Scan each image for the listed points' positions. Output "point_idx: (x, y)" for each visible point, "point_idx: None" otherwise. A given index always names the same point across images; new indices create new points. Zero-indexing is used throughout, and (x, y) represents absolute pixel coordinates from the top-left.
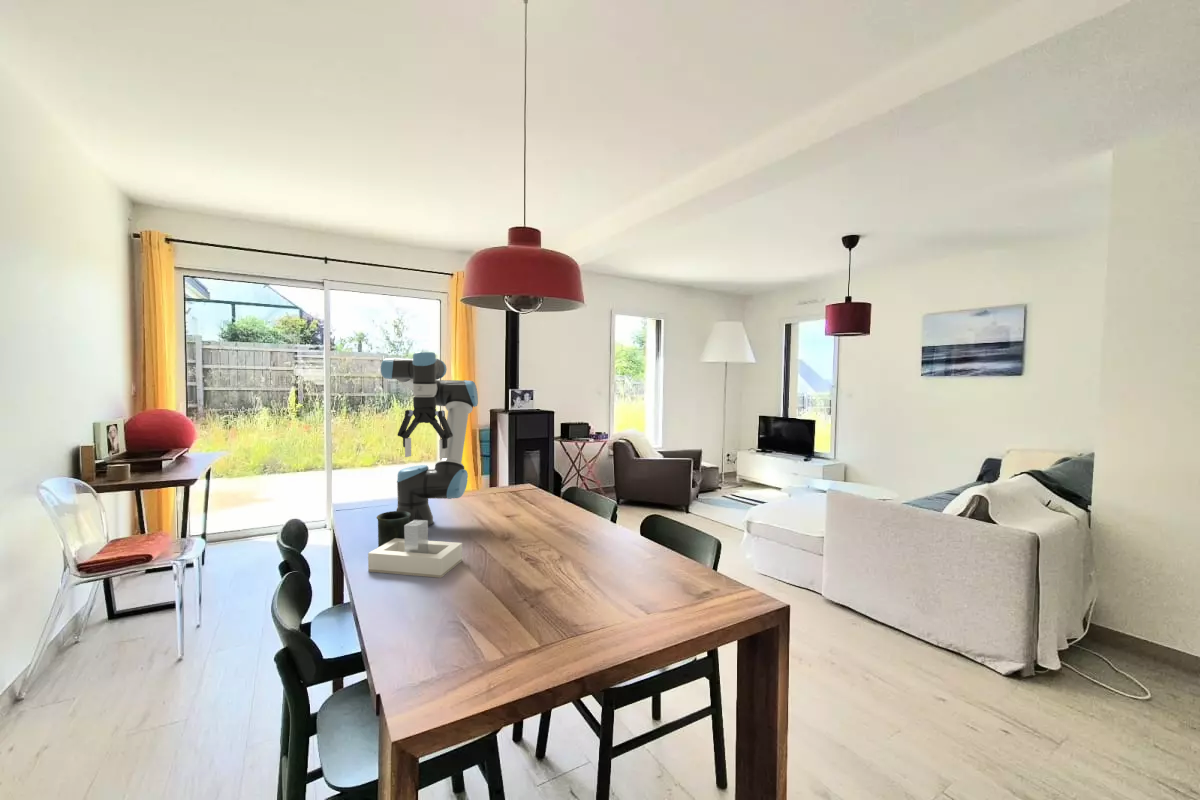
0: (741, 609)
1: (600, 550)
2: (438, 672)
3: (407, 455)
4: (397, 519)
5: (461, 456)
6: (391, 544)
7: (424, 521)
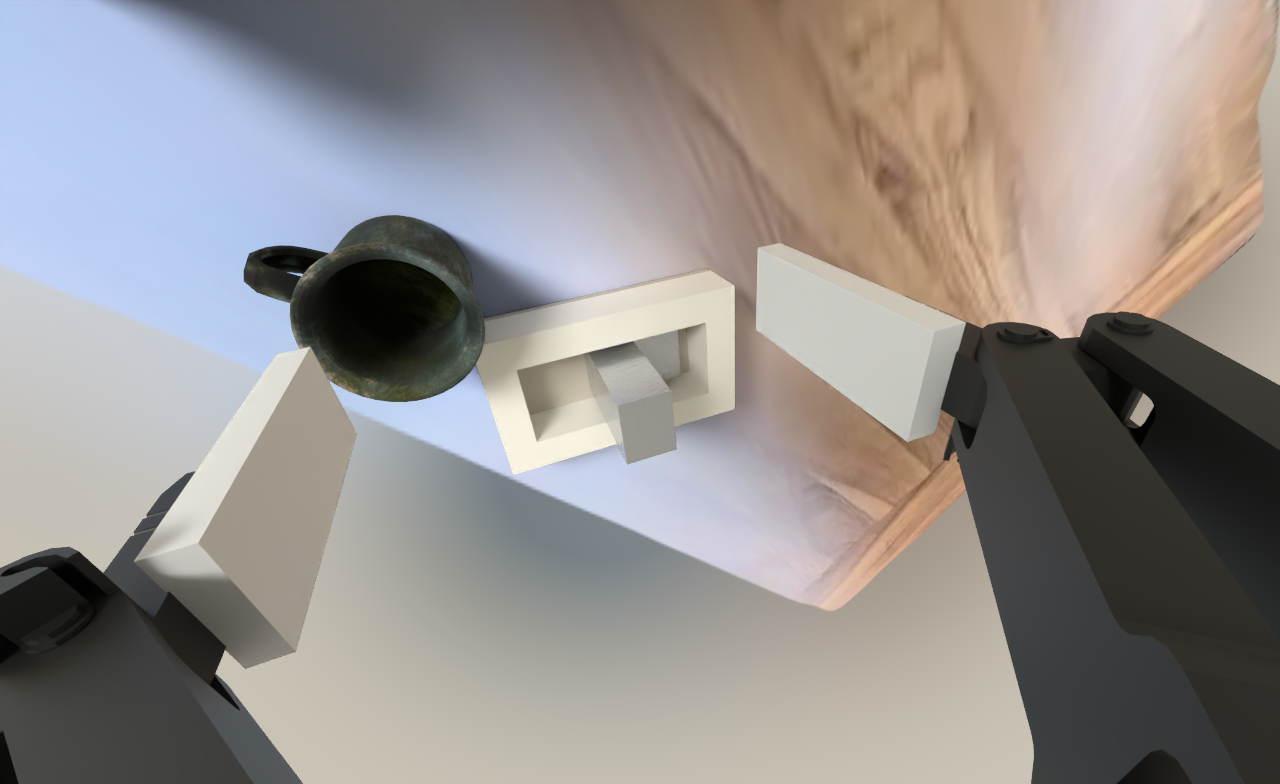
0: (1203, 263)
1: (1086, 8)
2: (833, 558)
3: (348, 435)
4: (472, 367)
5: None
6: (517, 398)
7: (666, 404)
